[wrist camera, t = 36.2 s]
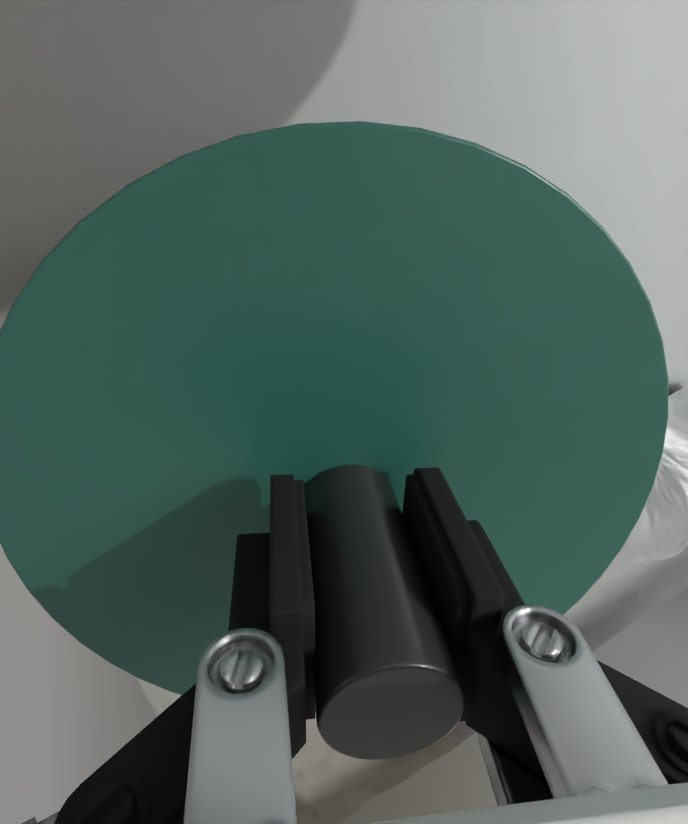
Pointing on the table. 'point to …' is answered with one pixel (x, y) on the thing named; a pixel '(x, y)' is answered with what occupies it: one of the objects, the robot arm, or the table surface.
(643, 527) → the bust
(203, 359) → the lid
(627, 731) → the robot arm
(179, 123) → the table surface
